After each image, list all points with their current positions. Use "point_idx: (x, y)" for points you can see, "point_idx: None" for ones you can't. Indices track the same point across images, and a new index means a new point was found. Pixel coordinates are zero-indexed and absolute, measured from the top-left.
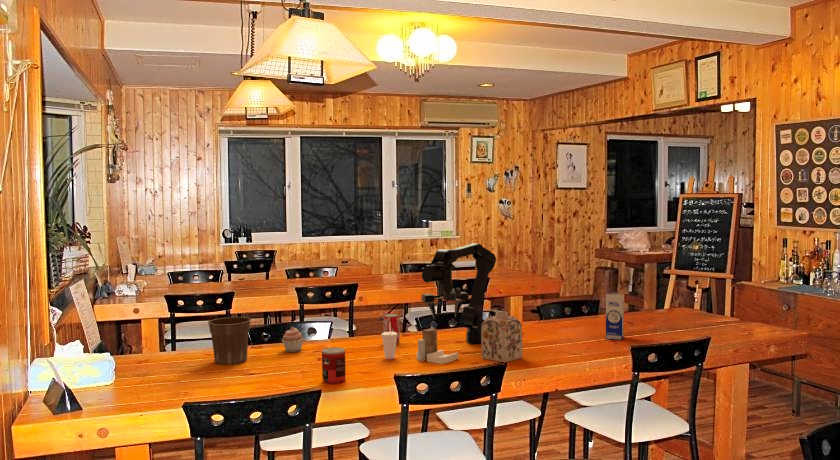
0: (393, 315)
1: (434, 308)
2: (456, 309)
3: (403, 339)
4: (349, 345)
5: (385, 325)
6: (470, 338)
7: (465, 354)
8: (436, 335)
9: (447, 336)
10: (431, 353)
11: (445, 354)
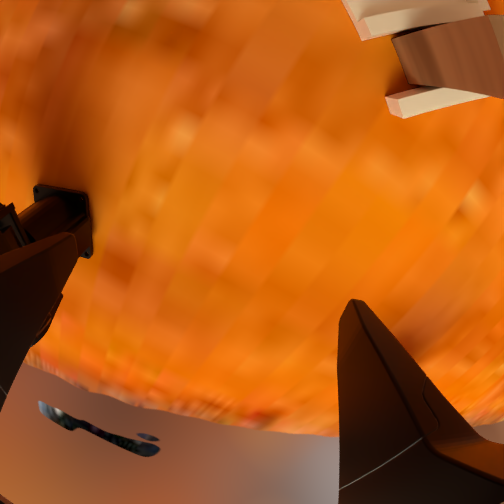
0: None
1: (419, 415)
2: (4, 292)
3: (307, 390)
4: (472, 383)
5: None
6: (71, 220)
7: (207, 3)
8: (461, 21)
9: (140, 351)
10: (461, 12)
11: (353, 5)
